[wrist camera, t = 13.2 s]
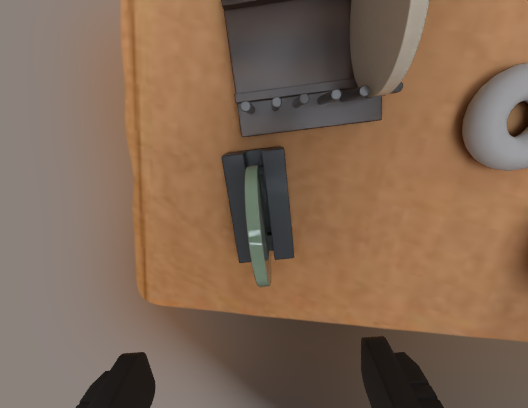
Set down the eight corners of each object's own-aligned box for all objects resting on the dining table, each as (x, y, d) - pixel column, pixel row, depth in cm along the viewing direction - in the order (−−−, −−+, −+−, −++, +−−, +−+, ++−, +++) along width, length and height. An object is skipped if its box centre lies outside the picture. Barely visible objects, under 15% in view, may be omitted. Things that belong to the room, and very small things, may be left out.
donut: (487, 51, 25) (436, 151, 28) (520, 39, 22) (459, 154, 24) (576, 85, 26) (518, 180, 29) (622, 79, 22) (551, 186, 25)
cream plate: (348, -37, 22) (419, -182, 11) (360, -39, 22) (443, -186, 11) (350, 102, 25) (408, 88, 15) (361, 100, 25) (426, 86, 15)
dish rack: (219, -35, 23) (196, -104, 16) (377, -61, 23) (427, -145, 15) (243, 136, 28) (233, 141, 21) (376, 120, 27) (414, 119, 20)
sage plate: (250, 155, 27) (239, 187, 17) (259, 154, 27) (254, 185, 17) (262, 246, 31) (260, 316, 21) (271, 245, 31) (272, 315, 21)
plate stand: (226, 152, 28) (221, 156, 26) (282, 145, 28) (284, 148, 25) (242, 250, 32) (239, 263, 29) (292, 245, 32) (294, 258, 29)
